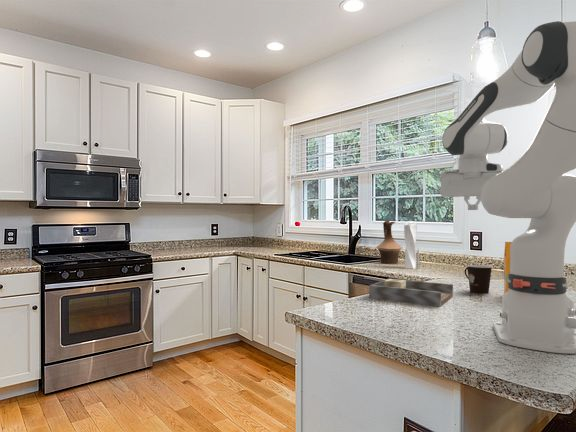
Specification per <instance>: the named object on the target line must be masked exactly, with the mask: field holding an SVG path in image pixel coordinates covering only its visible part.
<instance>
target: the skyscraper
mask: <svg viewBox="0 0 576 432" xmlns="http://www.w3.org/2000/svg"><path fill="white" fill-rule="evenodd" d="M403 227H404V228H403V233H404V234H403V235H404V236H403V237H404V243H405V249H404V250H405V252H404V253H405V254H404V269H405V270H419V269H420V268H421V267H420V254H419V253H420V252H419V249H416V241H417V234H418V233H417V232H418V225H417V223H416V222H415V221H413V220H408V221H407V223H403ZM416 251H417V252H416Z"/></svg>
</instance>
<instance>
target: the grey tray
mask: <svg viewBox="0 0 576 432" xmlns="http://www.w3.org/2000/svg"><path fill="white" fill-rule="evenodd" d="M388 279H389V278H386V279H384V280H381V281H377V282H376V283H372V284H368V289H369V290H368V294H369V295H368V297H369V299H373V300H374V299H375V300H382V301H389V302H390V301H391V302H397V303H398V302H399V303H405V304H414V305H415V304H416V305H424V306H431V307H438V308H440V307H443V305H445V304H446V303H448V302H449V300H451V299H452V298H454V284H453V283H442V282H431V281H421V280H419V281H418V280H407V279H405V280H406V288H396V287H386V286H384V281H385V280H388ZM397 279H398V278H397ZM398 280H401V279H398Z"/></svg>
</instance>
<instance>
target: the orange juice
mask: <svg viewBox="0 0 576 432" xmlns="http://www.w3.org/2000/svg"><path fill="white" fill-rule="evenodd" d="M511 243H512V241H505V242H504V254H503V269H504V270H503V279H504V280H503V282H504V283H503V285H504V286H503V287H504V288H503V291H504V293H506V292H507V291H508V290H509V288H508V274H509V273H510V245H511ZM504 293H503V294H504Z"/></svg>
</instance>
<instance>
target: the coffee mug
mask: <svg viewBox="0 0 576 432" xmlns="http://www.w3.org/2000/svg"><path fill="white" fill-rule="evenodd" d="M492 269H493V268H492V266H491V265H490V266H489V265H482V264H481V265H479V264H469V265H466V268H464V275H465V277H466V278H467V280H468V284H469V291H470V293H473V294H480V295H484V294H485V295H486V294H487V295H488V294H489V293H490V285H491V284H490V283H491V277H492Z"/></svg>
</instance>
